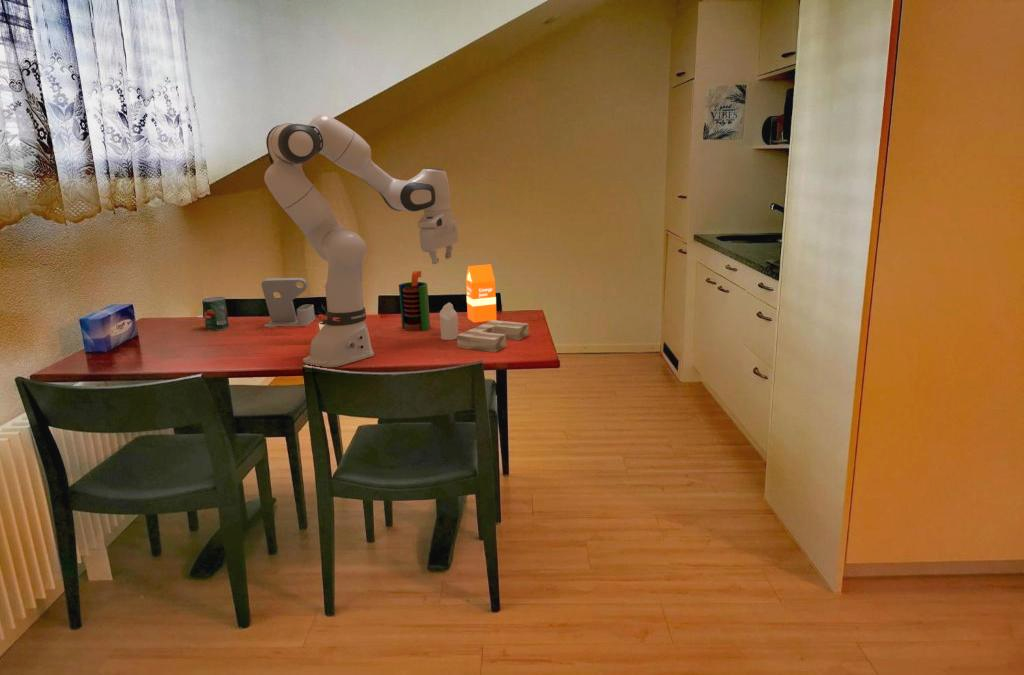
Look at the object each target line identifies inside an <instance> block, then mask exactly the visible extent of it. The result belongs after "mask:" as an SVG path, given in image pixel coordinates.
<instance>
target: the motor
mask: <svg viewBox="0 0 1024 675" xmlns="http://www.w3.org/2000/svg"><path fill="white" fill-rule="evenodd" d="M419 278H422V271H421V270H414V271H412V273H411V281H410V282H404V283H400V284H398V294H399V304H400V305H399V306H400V315H401V316H400V317H401V318H400V319H401V327H402V329H404V330H405V331H408V332H418V331H422V332H423V331H427V330H429V329H430V328H431V319H430V318H431V317H430V307H429V292H428V290H429V288H428V283H427V282H424V281H418V280H419Z"/></svg>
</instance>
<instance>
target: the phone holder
mask: <svg viewBox="0 0 1024 675" xmlns="http://www.w3.org/2000/svg"><path fill="white" fill-rule="evenodd" d="M297 283H302V285H303V286H302V287H301V286H299V285H298V284H297ZM260 286H261V289H262V291H263V297H264V298H265V304H266V307H267V310H268V314H269V317H270V321H268V322H266V323H265V324H263V327H264V328H266V327H269V328H274V327H273V326H300V325H302V326H303V325H309V324H310V323H311V322H313V321H314V320H315V319H316V317H315V308H314V307H315V306H314V304H313V303H312V304H311V303H310V304H307V303H306V304H302V305H301V306H299V307H298V308H296V309H295V306H294V300H295V299H296V298H298V296H300V295H301V294H303V293H304V292H305V291H306V290H307V289H308V287H309V286H308V282H307V280H306V279H305V278H303V277H269V278H268V277H266V278H264V279H263V280H262V282H261V285H260ZM274 293H278V294H280V297H279V298H278V297H277V298H276V297H275V295H274Z"/></svg>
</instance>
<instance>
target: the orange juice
mask: <svg viewBox="0 0 1024 675" xmlns="http://www.w3.org/2000/svg"><path fill="white" fill-rule="evenodd" d="M492 267H493V266H492V264H491V263H489V264H479V265H468V267H467V272H466V278H465V287H466V306H467V308H466V309H467V319H468V320H470V321H471V322H472V323H481V322H489V321H491V320H497V296H496V280H495V276H494V275H495V274H494V272H493V268H492ZM497 321H498V320H497Z"/></svg>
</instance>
